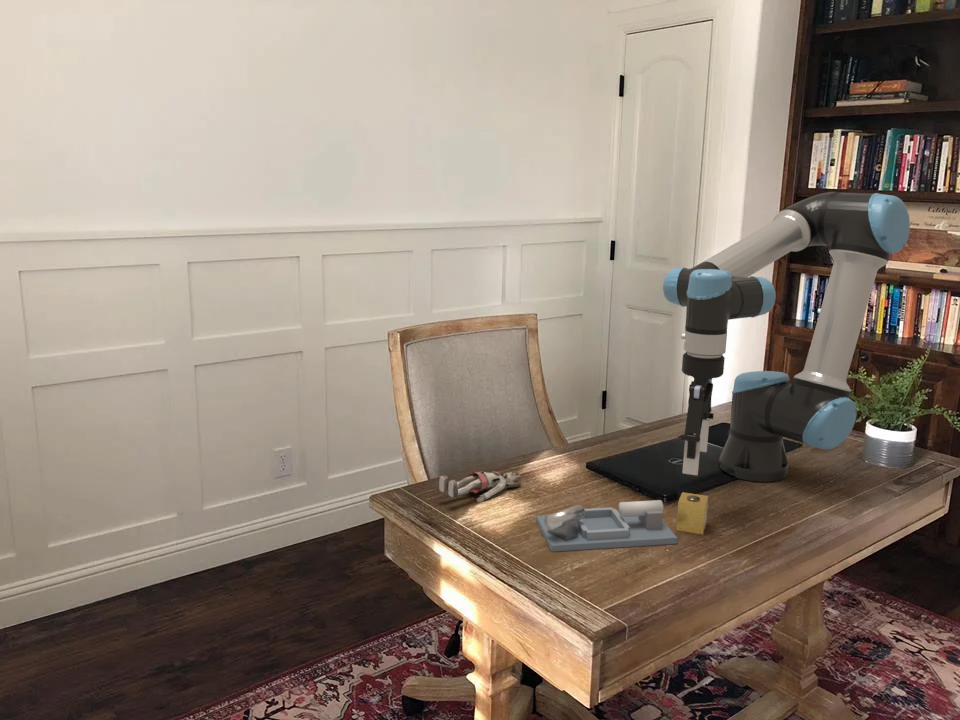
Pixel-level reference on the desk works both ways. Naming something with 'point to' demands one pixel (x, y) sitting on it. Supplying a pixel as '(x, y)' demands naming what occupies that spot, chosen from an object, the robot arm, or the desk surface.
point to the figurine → (480, 483)
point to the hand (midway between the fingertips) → (695, 462)
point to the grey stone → (565, 522)
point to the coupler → (692, 513)
